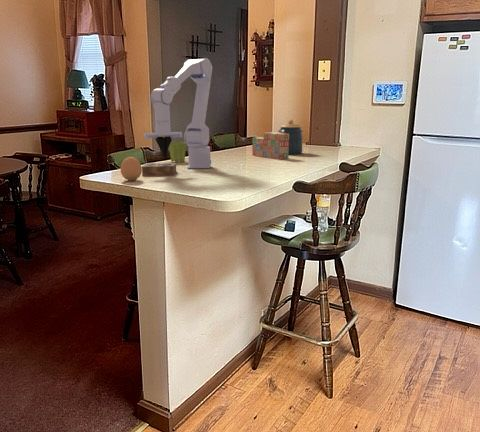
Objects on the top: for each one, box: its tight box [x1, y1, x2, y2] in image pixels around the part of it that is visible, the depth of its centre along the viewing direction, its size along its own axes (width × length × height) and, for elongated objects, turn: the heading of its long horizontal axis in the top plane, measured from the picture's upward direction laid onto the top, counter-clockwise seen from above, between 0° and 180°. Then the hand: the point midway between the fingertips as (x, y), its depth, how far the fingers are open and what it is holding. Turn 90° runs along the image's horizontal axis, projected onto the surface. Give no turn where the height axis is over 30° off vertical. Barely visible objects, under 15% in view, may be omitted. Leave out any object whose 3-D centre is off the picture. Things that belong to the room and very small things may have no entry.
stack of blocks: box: [251, 131, 290, 160], centre depth 234 cm, size 21×6×12 cm, turn 36°
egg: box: [120, 156, 142, 182], centre depth 167 cm, size 7×7×8 cm
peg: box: [159, 162, 170, 165], centre depth 184 cm, size 4×4×4 cm
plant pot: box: [168, 141, 187, 163], centre depth 218 cm, size 9×9×9 cm
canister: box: [277, 119, 304, 156], centre depth 249 cm, size 13×13×18 cm
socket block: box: [141, 162, 177, 177], centre depth 184 cm, size 12×10×4 cm
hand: (164, 156), depth 183 cm, fingers closed
